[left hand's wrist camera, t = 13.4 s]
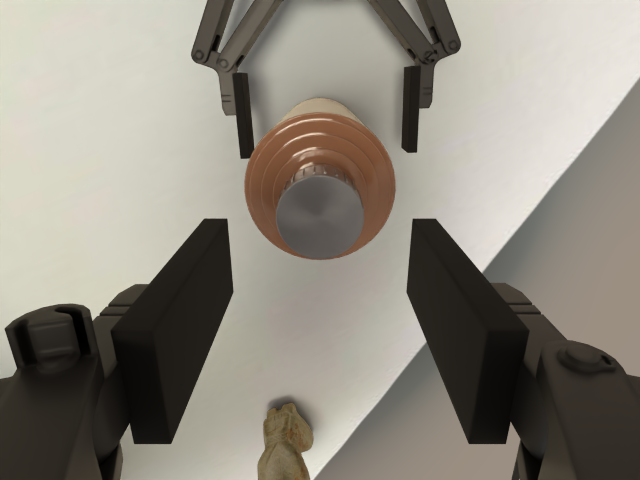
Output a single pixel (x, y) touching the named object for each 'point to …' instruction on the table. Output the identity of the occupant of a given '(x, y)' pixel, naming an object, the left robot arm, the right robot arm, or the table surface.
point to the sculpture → (284, 445)
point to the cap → (320, 212)
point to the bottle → (319, 149)
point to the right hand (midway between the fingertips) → (328, 153)
